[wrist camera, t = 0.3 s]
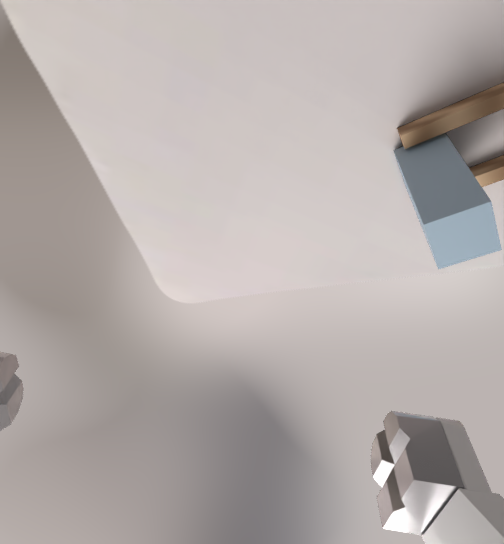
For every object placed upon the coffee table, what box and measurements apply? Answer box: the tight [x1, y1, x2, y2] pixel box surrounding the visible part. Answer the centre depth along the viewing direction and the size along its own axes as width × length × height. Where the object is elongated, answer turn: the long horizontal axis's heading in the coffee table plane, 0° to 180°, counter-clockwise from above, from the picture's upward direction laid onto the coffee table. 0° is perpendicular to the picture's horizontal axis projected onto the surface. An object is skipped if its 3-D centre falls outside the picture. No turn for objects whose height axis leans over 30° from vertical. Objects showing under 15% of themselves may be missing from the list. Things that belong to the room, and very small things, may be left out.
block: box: [394, 133, 501, 269], centre depth 40 cm, size 5×5×14 cm
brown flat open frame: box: [397, 82, 504, 187], centre depth 42 cm, size 18×9×3 cm, turn 118°
